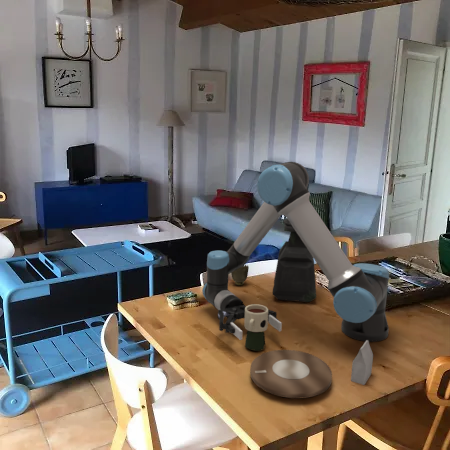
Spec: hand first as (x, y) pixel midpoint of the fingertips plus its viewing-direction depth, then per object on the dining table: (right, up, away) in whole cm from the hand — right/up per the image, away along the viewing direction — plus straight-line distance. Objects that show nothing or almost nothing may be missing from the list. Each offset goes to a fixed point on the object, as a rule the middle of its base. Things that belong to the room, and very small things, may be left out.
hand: (261, 331), depth 146 cm
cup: (-5, +7, +56) cm, 57 cm away
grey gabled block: (+27, -11, -11) cm, 31 cm away
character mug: (-2, -6, +5) cm, 8 cm away
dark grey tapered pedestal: (+16, +4, +47) cm, 50 cm away
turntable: (+7, -9, -13) cm, 17 cm away
